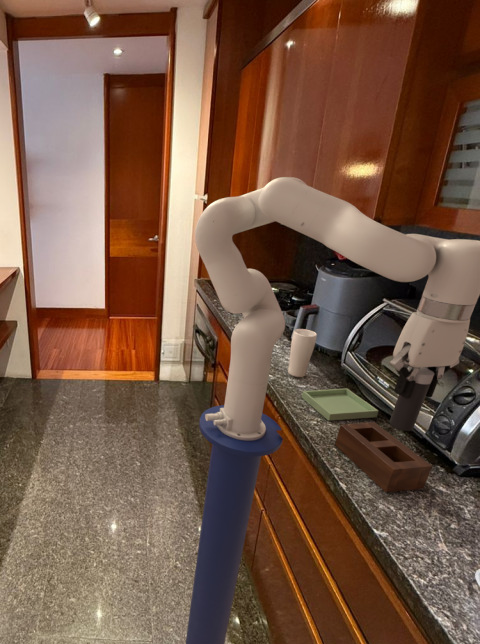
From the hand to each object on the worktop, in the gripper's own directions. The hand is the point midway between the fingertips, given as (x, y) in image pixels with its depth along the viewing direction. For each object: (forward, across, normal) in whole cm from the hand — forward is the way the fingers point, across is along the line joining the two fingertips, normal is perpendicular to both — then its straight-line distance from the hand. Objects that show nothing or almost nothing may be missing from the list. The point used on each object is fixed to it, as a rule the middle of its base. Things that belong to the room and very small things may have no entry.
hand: (412, 393), depth 78 cm
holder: (+20, 0, -2) cm, 21 cm away
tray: (+21, -8, -26) cm, 34 cm away
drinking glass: (+21, -8, -46) cm, 51 cm away
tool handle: (+8, 0, 0) cm, 8 cm away
